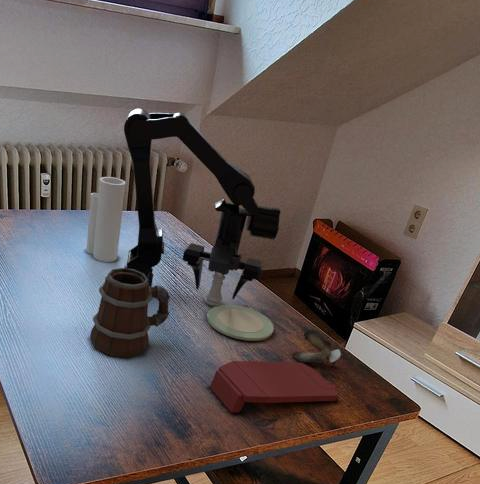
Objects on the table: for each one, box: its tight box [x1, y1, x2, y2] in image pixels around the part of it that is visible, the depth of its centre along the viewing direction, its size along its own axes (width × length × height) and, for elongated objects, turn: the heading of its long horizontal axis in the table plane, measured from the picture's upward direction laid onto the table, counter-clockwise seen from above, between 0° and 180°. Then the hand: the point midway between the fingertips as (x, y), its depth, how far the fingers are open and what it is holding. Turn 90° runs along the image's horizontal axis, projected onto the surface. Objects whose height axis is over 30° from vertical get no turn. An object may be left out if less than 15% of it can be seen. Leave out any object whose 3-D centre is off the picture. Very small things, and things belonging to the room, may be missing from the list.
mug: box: [89, 267, 171, 359], centre depth 108 cm, size 16×12×15 cm
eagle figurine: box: [294, 328, 345, 368], centre depth 117 cm, size 8×7×9 cm
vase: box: [85, 176, 126, 263], centre depth 142 cm, size 11×7×20 cm, turn 30°
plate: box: [206, 304, 275, 342], centre depth 127 cm, size 16×16×1 cm
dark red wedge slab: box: [209, 360, 339, 413], centre depth 106 cm, size 12×5×25 cm
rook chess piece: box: [204, 272, 226, 307], centre depth 132 cm, size 4×4×8 cm
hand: (215, 293), depth 133 cm, fingers open, 9 cm apart
